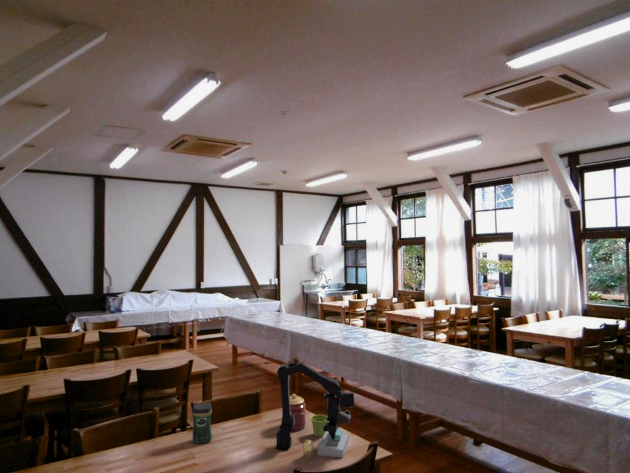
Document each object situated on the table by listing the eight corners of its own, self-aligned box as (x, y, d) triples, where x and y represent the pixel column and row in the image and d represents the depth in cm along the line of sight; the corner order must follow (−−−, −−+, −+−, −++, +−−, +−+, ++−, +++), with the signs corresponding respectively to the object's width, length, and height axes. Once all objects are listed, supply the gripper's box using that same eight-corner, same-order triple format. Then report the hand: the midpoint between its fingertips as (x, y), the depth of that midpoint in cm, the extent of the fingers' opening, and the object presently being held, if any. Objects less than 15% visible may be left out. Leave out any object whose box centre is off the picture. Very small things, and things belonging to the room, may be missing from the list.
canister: (279, 423, 240) (279, 391, 240) (301, 421, 243) (302, 389, 244) (284, 433, 227) (285, 399, 228) (308, 430, 231) (308, 396, 232)
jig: (317, 454, 203) (317, 447, 203) (325, 439, 219) (325, 432, 219) (342, 457, 200) (342, 450, 200) (348, 442, 216) (348, 434, 216)
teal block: (327, 439, 211) (327, 434, 211) (330, 433, 218) (330, 428, 218) (340, 440, 209) (340, 435, 209) (342, 434, 216) (342, 429, 216)
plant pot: (313, 439, 219) (313, 422, 219) (308, 432, 228) (308, 415, 228) (330, 437, 222) (330, 420, 222) (325, 430, 231) (325, 413, 231)
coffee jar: (212, 437, 222) (212, 400, 223) (211, 443, 214) (211, 406, 215) (193, 438, 220) (193, 401, 221) (190, 445, 213) (191, 407, 213)
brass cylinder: (301, 458, 199) (302, 443, 199) (304, 454, 203) (304, 439, 203) (311, 459, 198) (311, 444, 198) (313, 455, 202) (313, 440, 202)
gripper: (346, 415, 199) (346, 449, 198) (352, 401, 217) (352, 433, 216) (323, 413, 201) (322, 447, 201) (330, 399, 219) (330, 431, 219)
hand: (333, 439), depth 209 cm, fingers closed
